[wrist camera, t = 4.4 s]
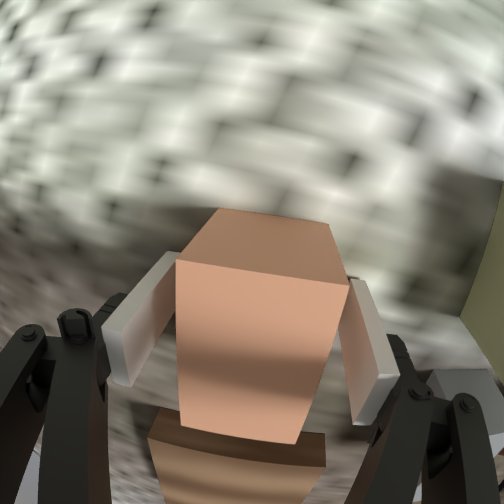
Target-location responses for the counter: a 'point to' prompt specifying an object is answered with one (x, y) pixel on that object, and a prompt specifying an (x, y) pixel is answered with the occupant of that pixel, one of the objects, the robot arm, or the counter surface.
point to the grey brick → (483, 389)
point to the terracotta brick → (255, 323)
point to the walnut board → (231, 465)
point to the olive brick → (489, 297)
